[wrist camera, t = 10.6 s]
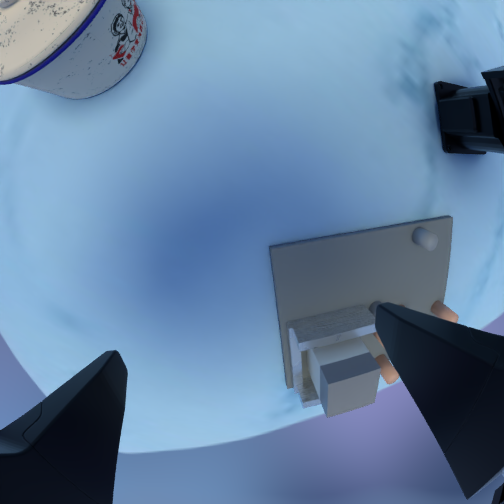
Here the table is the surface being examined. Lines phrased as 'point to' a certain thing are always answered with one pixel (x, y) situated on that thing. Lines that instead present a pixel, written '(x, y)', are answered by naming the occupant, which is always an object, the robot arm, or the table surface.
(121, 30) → the teacup with lid
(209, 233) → the table surface
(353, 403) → the block
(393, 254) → the mat
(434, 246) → the pegs
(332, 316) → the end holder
